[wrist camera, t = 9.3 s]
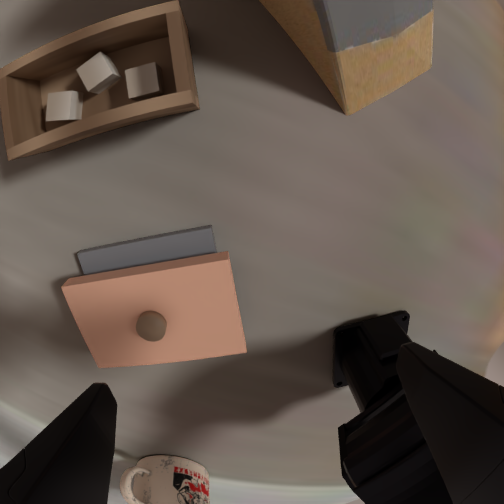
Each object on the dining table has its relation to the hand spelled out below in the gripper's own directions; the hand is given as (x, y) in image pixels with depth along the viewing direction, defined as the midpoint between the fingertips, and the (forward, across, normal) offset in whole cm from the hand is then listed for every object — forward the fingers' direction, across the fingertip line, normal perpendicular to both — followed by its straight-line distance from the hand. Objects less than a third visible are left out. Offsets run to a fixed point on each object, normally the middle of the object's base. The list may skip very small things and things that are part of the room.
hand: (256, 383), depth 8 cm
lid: (+10, +6, +4) cm, 12 cm away
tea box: (+12, +6, -10) cm, 17 cm away
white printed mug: (+12, +12, +26) cm, 31 cm away
